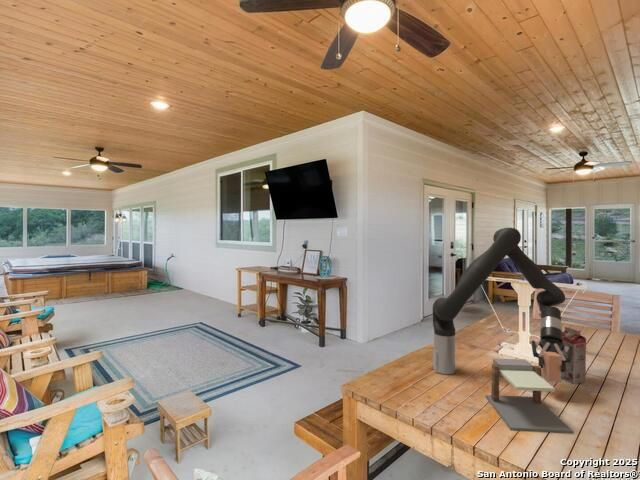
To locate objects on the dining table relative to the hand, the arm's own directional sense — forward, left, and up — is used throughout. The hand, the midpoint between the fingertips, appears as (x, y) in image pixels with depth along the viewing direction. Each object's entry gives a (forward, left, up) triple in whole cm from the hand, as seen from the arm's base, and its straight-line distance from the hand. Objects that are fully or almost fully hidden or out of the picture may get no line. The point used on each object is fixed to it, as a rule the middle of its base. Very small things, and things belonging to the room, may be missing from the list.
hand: (552, 369), depth 131 cm
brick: (+1, +2, -5) cm, 5 cm away
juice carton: (+18, +18, -12) cm, 28 cm away
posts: (-15, -5, -11) cm, 20 cm away
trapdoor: (-15, -9, -2) cm, 18 cm away
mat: (-15, -12, -11) cm, 22 cm away
